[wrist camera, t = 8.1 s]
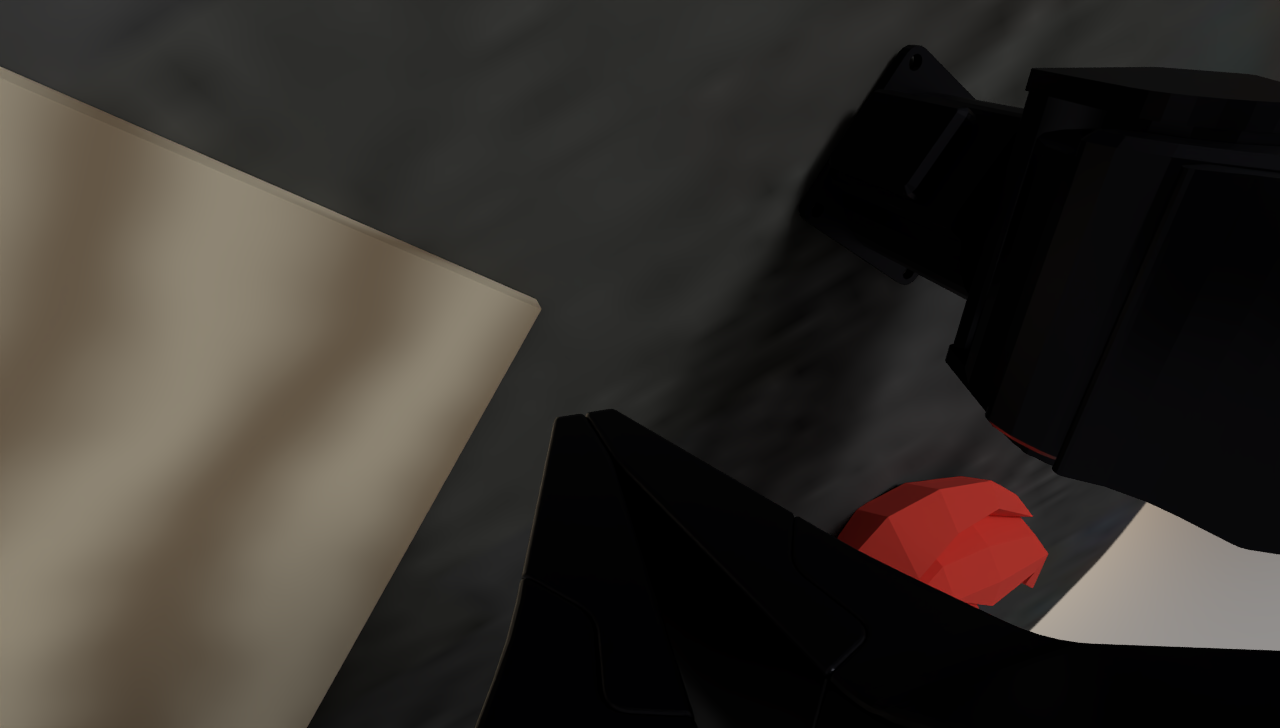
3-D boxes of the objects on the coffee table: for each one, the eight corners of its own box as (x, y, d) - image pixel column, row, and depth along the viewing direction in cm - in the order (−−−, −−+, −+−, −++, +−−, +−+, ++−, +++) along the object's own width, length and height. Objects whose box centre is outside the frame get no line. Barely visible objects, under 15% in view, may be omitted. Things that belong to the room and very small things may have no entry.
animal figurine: (720, 530, 31) (773, 614, 27) (985, 425, 33) (1070, 487, 29) (742, 669, 37) (787, 755, 33) (964, 571, 40) (1031, 639, 35)
